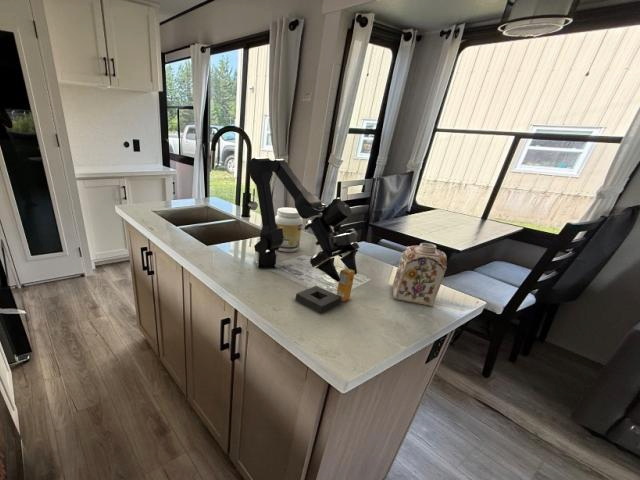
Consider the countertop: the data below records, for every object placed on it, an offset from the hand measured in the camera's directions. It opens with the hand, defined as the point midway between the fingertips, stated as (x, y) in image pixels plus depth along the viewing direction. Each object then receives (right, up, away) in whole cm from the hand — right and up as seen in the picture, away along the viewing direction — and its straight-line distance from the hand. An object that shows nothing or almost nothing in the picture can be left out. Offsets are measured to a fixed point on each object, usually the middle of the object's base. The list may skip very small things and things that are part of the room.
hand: (347, 277), depth 102 cm
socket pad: (-9, -8, +1) cm, 12 cm away
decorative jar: (+24, -6, +8) cm, 26 cm away
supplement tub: (-13, +16, +45) cm, 49 cm away
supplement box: (-1, -7, +4) cm, 8 cm away
